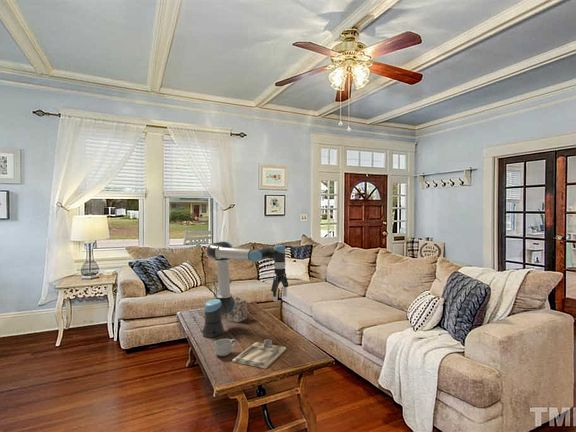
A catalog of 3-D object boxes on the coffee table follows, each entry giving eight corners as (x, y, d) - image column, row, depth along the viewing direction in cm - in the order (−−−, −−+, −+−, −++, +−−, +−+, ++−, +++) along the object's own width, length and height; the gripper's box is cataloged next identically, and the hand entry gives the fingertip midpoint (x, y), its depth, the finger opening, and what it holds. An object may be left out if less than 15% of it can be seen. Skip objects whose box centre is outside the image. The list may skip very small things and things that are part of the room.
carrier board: (232, 361, 193) (232, 353, 193) (255, 343, 218) (255, 335, 218) (265, 368, 184) (265, 359, 184) (286, 349, 210) (286, 340, 209)
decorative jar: (247, 318, 269) (247, 296, 269) (238, 322, 259) (237, 300, 259) (236, 316, 276) (236, 294, 275) (226, 320, 266) (226, 298, 265)
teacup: (217, 359, 196) (216, 346, 196) (212, 352, 206) (212, 339, 206) (239, 354, 203) (239, 341, 202) (233, 348, 212) (233, 335, 212)
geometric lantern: (211, 313, 285) (211, 272, 285) (229, 311, 291) (229, 271, 291) (214, 318, 271) (214, 275, 271) (233, 316, 277) (233, 274, 277)
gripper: (275, 271, 214) (275, 304, 215) (292, 265, 236) (293, 295, 237) (265, 270, 218) (266, 302, 218) (283, 264, 240) (283, 293, 240)
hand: (280, 298), depth 227 cm, fingers open, 13 cm apart
